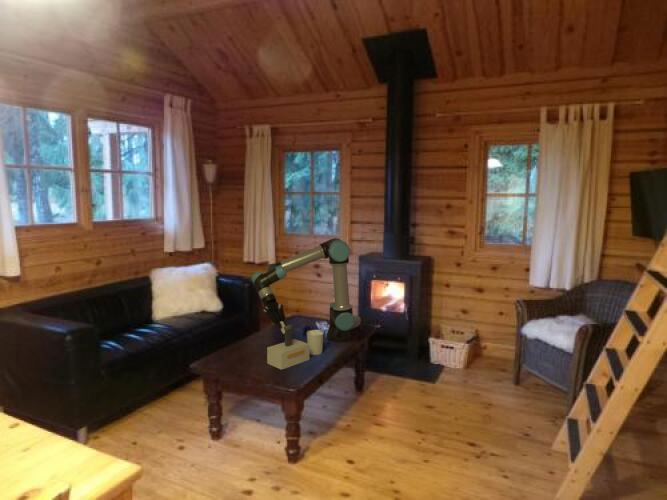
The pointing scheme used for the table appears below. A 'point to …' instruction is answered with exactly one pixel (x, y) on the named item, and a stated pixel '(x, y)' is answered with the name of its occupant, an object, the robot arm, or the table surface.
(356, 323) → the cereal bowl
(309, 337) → the candle holder
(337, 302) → the robot arm
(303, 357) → the beige rectangular box
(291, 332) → the lever
